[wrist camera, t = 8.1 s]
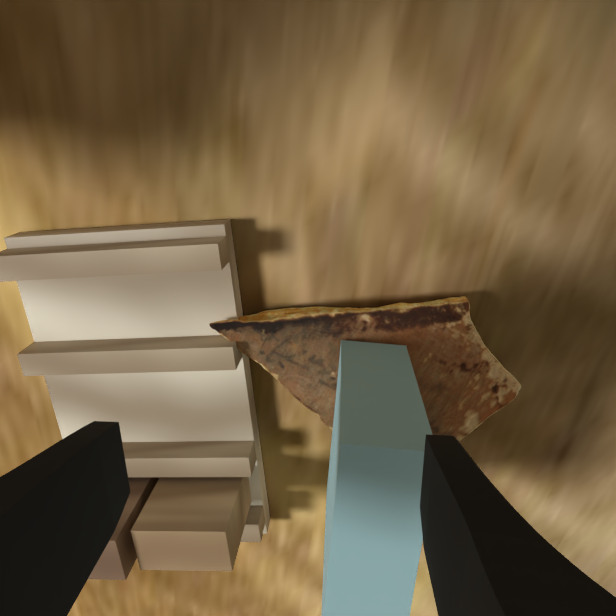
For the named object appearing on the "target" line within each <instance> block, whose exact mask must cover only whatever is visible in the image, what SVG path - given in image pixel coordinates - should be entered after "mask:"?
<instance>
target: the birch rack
mask: <svg viewBox="0 0 616 616" xmlns="http://www.w3.org/2000/svg"><path fill="white" fill-rule="evenodd" d="M4 239H5V243H6V246H7V249H6V250H3V251H1V252H0V282H3V281H17V284H18V287H19V291H20V294H21V298H22V301H23V305H24V308H25V312H26V315H27V318H28V322H29V325H30V329H31V332H32V336H33V339H34V342H33V343H32V344H31V345H29V346H28V347H27V348H25V349H24V350H22V351H21V352H20V353H18V354H17V355H18V358H19V362H20V365H21V368H22V371H23V375H24V376H41V375H44V377H45V380H46V384H47V387H48V390H49V394H50V397H51V401H52V404H53V408H54V411H55V415H56V418H57V421H58V425H59V428H60V432H61V435H62V439H64V438H65V437H67V436H69V435H70V434H72V433H74V432H75V431H77V430H79V429H80V428H82V427H84V426H86V425H88V424H90V423H92V422H93V421H106V422H119V426H120V432H121V438H122V444H123V450H124V456H125V462H126V468H127V474H128V477H248V478H249V485H250V492H251V498H252V501H251V505H250V509H249V512H248V516H247V519H246V523H245V527H244V530H243V534H242V537H241V541H240V542H261V539H262V535H263V534H267V531H268V527H269V522H270V513H269V505H268V498H267V490H266V483H265V475H264V468H263V460H262V453H261V445H260V438H259V430H258V423H257V415H256V408H255V400H254V393H253V385H252V378H251V370H250V363H249V357H247V356H246V355H245V354H243V353H242V352H241V351H240V350H239V349H238V348H237V346H236V341H229V340H227V339H226V338H225V337H223V336H222V335H220V334H219V333H218V332H217V331H216V330H214V329H212V328H211V327H210V326H209V323H213V322H216V321H222V320H234V319H237V320H238V319H239V317H240V316H243V310H242V303H241V295H240V288H239V280H238V273H237V265H236V258H235V250H234V243H233V236H232V228H231V221H230V219H223V220H207V221H191V222H176V223H160V224H144V225H128V226H112V227H96V228H80V229H64V230H48V231H32V232H19V233H16V234H13V235H11V236H8V237H5V238H4Z"/></svg>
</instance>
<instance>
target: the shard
mask: <svg viewBox="0 0 616 616" xmlns="http://www.w3.org/2000/svg"><path fill="white" fill-rule="evenodd" d="M209 326H210V327H211V328H212V329H214V330H216V331H217V332H218V333H219V334H220V335H222V336H223V337H225V338H226V339H227V340H229V341H236V346H237V348H238V349H239V350H240V351H241V352H242V353H243V354H245V355H246V356H247V357H249V358H251V359H252V360H254V361H255V362H257V363H259V364H260V365H261V366H262V367H263V368H264V369H265V370H267V371H268V372H269V373H270V374H271V375H272V376H273V377H275V378H276V379H277V380H278V381H279V382H280V383H281V384H282V385H283V386H284V387H286V388H287V389H288V390H289V392H290V393H291V394H292V395H293V396H294V397H295V398H296V399H297V400H298V401H299V402H300V403H302V404H303V405H304V406H306V407H307V408H308V409H309V410H311V411H312V412H313V413H314V414H316V415H317V416H318V417H319V418H320V419H321V420H322V421H323V423H324V424H325V425H327V426H328V427H329V428H331V429H332V430H333V420H334V410H335V399H336V389H337V378H338V367H339V357H340V346H341V340H346V341H358V342H370V343H381V344H393V345H405V346H406V347H407V350H408V354H409V357H410V360H411V364H412V367H413V370H414V374H415V377H416V380H417V384H418V387H419V391H420V394H421V397H422V401H423V404H424V407H425V411H426V414H427V418H428V421H429V424H430V428H431V431H432V434H433V435H452V436H454V437H455V438H456V439H457V440H458V441H459V442H460V441H461V439H462V438H464V437H465V436H467V435H469V434H470V433H471V432H472V431H473V430H474V429H476V428H477V427H478V426H479V425H481V424H482V423H483V422H484V421H485V420H486V419H487V418H489V417H490V416H491V415H493V414H494V413H496V412H497V411H499V410H500V409H502V408H503V407H505V406H506V405H508V404H509V403H510V402H511V401H513V400H514V399H515V398H516V397H517V395H518V392H519V390H520V389H521V384H520V383H519V382H518V381H517V380H516V378H515V377H514V376H513V375H512V374H511V373H510V372H508V371H507V370H506V369H505V368H504V367H503V366H502V364H501V363H500V362H499V361H498V360H497V359H496V357H495V356H494V355H493V354H492V353H491V352H490V351H489V350H488V348H487V347H486V346H485V345H484V343H483V341H482V339H481V337H480V336H479V334H478V332H477V330H476V328H475V326H474V324H473V323H472V321H471V318H470V303H469V300H468V299H467V298H466V297H465V296H462V297H450V298H445V299H438V300H435V301H427V302H422V303H395V304H391V305H386V306H381V307H377V308H351V307H345V308H342V307H320V306H316V307H303V308H283V309H277V310H266V311H262V312H260V313H257V314H252V315H247V316H240V317H239V319H238V320H237V319H234V320H222V321H216V322H213V323H209Z"/></svg>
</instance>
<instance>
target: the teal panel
mask: <svg viewBox="0 0 616 616" xmlns="http://www.w3.org/2000/svg"><path fill="white" fill-rule="evenodd" d="M426 434H427V435H433V434H432V431H431V428H430V424H429V421H428V418H427V414H426V411H425V407H424V404H423V401H422V397H421V394H420V391H419V387H418V384H417V380H416V377H415V374H414V370H413V367H412V364H411V360H410V357H409V354H408V350H407V347H406V346H405V345H393V344H381V343H370V342H358V341H346V340H341V346H340V357H339V367H338V378H337V389H336V399H335V410H334V420H333V431H332V441H331V452H330V462H329V473H328V483H327V498H326V522H325V546H324V569H323V593H322V616H409V615H410V610H411V604H412V598H413V592H414V587H415V581H416V575H417V569H418V564H419V558H420V552H421V546H422V541H423V535H422V525H421V514H420V497H421V485H422V474H423V462H424V450H425V438H426Z"/></svg>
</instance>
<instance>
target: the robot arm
mask: <svg viewBox="0 0 616 616" xmlns="http://www.w3.org/2000/svg"><path fill="white" fill-rule="evenodd" d="M129 494H130V486H129V480H128V474H127V468H126V462H125V456H124V450H123V444H122V438H121V432H120V426H119V422H106V421H93V422H92V423H90V424H88V425H86V426H84V427H82V428H80V429H79V430H77V431H75V432H74V433H72V434H70V435H69V436H67V437H65V438H64V439H62V440H61V441H59V442H57V443H56V444H54V445H53V446H51V447H49V448H48V449H46V450H44V451H43V452H41V453H40V454H38V455H36V456H35V457H33V458H31V459H30V460H28V461H27V462H25V463H23V464H22V465H20V466H18V467H17V468H15V469H14V470H12V471H10V472H8V473H7V474H5V475H3V476H1V477H0V616H67V614H68V613H69V611H70V609H71V607H72V606H73V604H74V602H75V600H76V599H77V597H78V595H79V593H80V592H81V590H82V588H83V586H84V585H85V583H86V581H87V579H88V578H89V576H90V574H91V572H92V571H93V569H94V567H95V565H96V564H97V562H98V560H99V558H100V556H101V555H102V553H103V551H104V549H105V548H106V546H107V544H108V542H109V540H110V538H111V537H112V535H113V533H114V531H115V529H116V526H117V524H118V522H119V519H120V517H121V515H122V512H123V510H124V507H125V504H126V502H127V499H128V497H129ZM420 514H421V525H422V535H423V544H424V551H425V556H426V561H427V565H428V570H429V574H430V579H431V584H432V588H433V593H434V597H435V602H436V606H437V611H438V615H439V616H616V597H614V596H613V595H612V594H610V593H609V592H608V591H606V590H605V589H604V588H603V587H601V586H600V585H599V584H597V583H596V582H595V581H593V580H592V579H591V578H589V577H588V576H587V575H586V574H584V573H583V572H582V571H581V570H579V569H578V568H577V567H576V566H575V565H573V564H572V563H571V562H570V561H569V560H568V559H567V558H565V557H564V556H563V555H562V554H561V553H560V552H558V551H557V550H556V549H555V548H554V547H553V546H552V545H550V544H549V543H548V542H547V541H546V540H545V539H544V538H543V537H542V536H541V535H540V534H539V533H538V532H536V531H535V530H534V528H533V527H532V526H531V525H530V524H529V523H528V522H527V521H526V520H525V519H524V518H523V517H522V516H521V515H520V514H519V513H518V512H517V511H516V510H515V509H514V508H513V507H512V506H511V505H510V503H509V502H508V501H507V500H506V499H505V498H504V497H503V495H502V494H501V493H500V492H499V491H498V490H497V489H496V488H495V486H494V485H493V484H492V483H491V482H490V481H489V479H488V478H487V477H486V476H485V475H484V473H483V472H482V471H481V470H480V468H479V467H478V466H477V465H476V463H475V462H474V461H473V460H472V458H471V457H470V456H469V454H468V453H467V452H466V451H465V449H464V448H463V447H462V445H461V444H460V443H459V441H458V440H457V439H456V438H455V437H454V436H452V435H427V434H426V438H425V450H424V462H423V474H422V485H421V497H420Z"/></svg>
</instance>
